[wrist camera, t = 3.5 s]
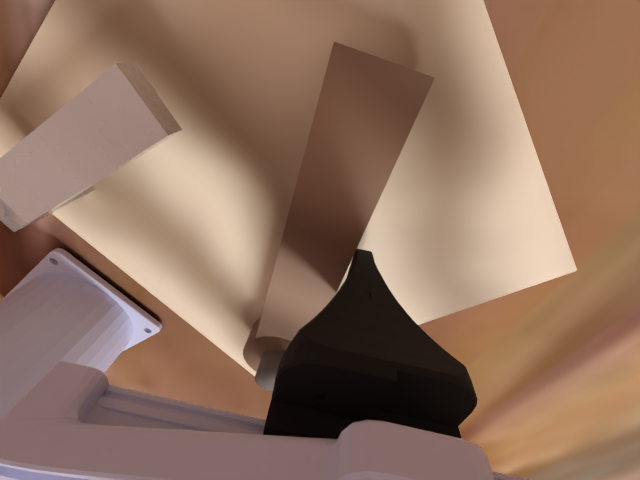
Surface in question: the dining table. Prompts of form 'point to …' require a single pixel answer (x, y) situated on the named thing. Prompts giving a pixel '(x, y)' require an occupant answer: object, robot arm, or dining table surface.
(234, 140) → the base board
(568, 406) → the dining table surface
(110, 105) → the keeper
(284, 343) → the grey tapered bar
